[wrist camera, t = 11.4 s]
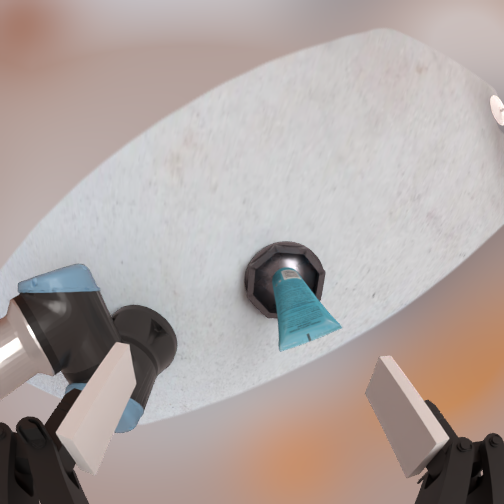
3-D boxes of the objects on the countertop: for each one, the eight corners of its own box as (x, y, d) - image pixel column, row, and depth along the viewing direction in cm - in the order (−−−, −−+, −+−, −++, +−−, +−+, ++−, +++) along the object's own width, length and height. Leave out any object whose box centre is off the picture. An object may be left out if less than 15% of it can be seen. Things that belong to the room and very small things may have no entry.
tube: (272, 300, 48) (288, 366, 30) (261, 277, 47) (271, 336, 29) (310, 282, 48) (346, 339, 29) (300, 258, 47) (334, 307, 28)
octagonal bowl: (242, 313, 50) (242, 318, 48) (248, 238, 46) (248, 241, 44) (316, 316, 50) (318, 322, 48) (328, 244, 47) (332, 247, 45)
